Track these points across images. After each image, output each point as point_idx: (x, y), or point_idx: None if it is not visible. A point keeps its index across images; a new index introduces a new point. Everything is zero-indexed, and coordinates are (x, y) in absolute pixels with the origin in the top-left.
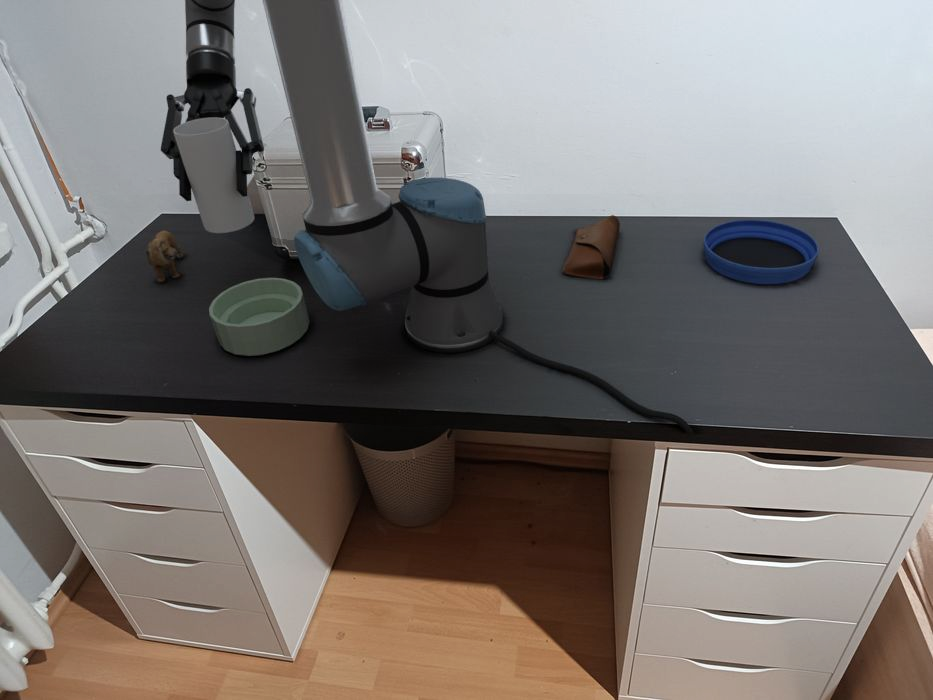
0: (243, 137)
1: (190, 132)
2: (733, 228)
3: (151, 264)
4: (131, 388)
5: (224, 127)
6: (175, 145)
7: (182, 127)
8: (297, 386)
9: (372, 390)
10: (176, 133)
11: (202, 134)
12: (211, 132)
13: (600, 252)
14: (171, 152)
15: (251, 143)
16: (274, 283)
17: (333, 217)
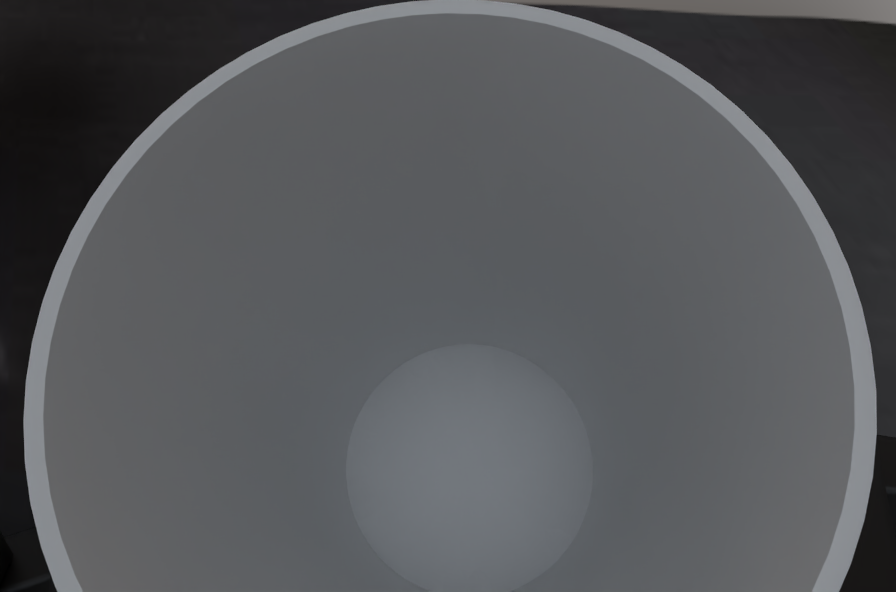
0: (52, 584)
1: (732, 582)
2: None
3: None
4: (619, 24)
5: (60, 265)
6: (874, 479)
7: (819, 483)
8: (217, 32)
9: (49, 21)
10: (684, 71)
11: (300, 31)
12: (199, 89)
13: None
14: (894, 461)
15: (21, 570)
16: None
17: None
